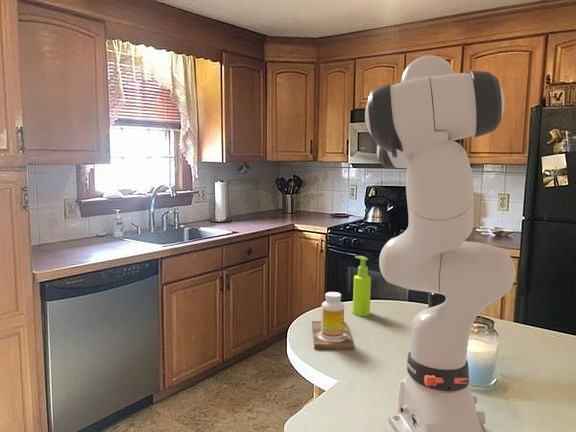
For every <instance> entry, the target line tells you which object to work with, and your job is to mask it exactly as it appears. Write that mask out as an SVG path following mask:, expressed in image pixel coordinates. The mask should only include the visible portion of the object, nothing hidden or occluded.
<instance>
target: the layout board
mask: <svg viewBox="0 0 576 432" xmlns="http://www.w3.org/2000/svg"><path fill="white" fill-rule="evenodd" d="M311 327H312V329H311V330H312V338H313V339H312V340H313V346H314V347H313V348H314V350H344V351H345V350H349V351H350V350H351V351H352V350H354V342H353V339H352V336H351V334H350V330H349V327H348V324H347V321H344V332H343V337H342V338H340V339H327V338H324V337H323V336H322V335H321V321H320V320H311Z"/></svg>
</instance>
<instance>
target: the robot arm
mask: <svg viewBox="0 0 576 432" xmlns="http://www.w3.org/2000/svg"><path fill="white" fill-rule="evenodd" d="M505 103H506V101H505V94H504V91H503V88H502V86H501V84H500V81H499V79H498V77H496V75H494V74H492V73H491V72H489V71H482V70H469V71H466V72H461V73H460V72H458V73H455V71H454V68H453V66H452V65H451V63H450V62H449V61H447V60H446V59H445V58H443V57H441V56H438V55H433V54H430V55H422V56H420V57H417V58H416V59H414V60H413V61H411V62H410V63H409V64H408V65H407V66H406V68H405V69H404V70H403V73H402V76H401V80H400V82H397V83H394V84H390V83H387V84H384V85H382V86H379V87H377V88H375V89H373V90H371V92H370V94H369V95H368V98H367V103H366V106H365V111H364V122H365V125H366V128H367V130H368V133H369V134H370V136H371V139H372V140H373V142H374V143H375V144H376V156H377V159H378V162H379V163H380V164H381V166H383V167H384V168H385V169H386V170H387V169H406V176H405V177H406V178H405V179H406V180H405V195H406V203H407V204H406V205H407V212H408V213H407V214H408V216H407V217H408V222H407V223H408V225H407V228H406V229H405V230H404V232H402V233H401V234H399V235H397V236H395V237H391V238H390V239H389V240H388V241H387V242H386V243H385V244H384V246H383V247H382V249H381V251H380V253H379V259H378V262H379V264H378V266H379V270H380V273H381V275H382V276H383V278H384V280H385V281H386V282H387V283H389V284H391V285H395V286H397V287H401V288H403V289H406V290H411V291H416V292H426V293H430V292H431V293H438V294H442V295H444V296H445V297H446V300H445V302H443V303H442V304H440V305H437V306H434V307H431V308H428V307H427V308H426V309H423V310H421V311H419V312H418V313H417V314H416V315H415V316H414V318H413V319H412V322H411V337H410V351H409V352H408V353H407V354H408V355H407V359H406V364H407V366H406V370H407V372H406V375H405V376H404V377H403V378H402V379H401V380H400V381H399V383H398V391H397V392H398V393H397V402H396V410H394V411H392V412H390V413H389V415H388V421H389V423H390V424H391V426H392V427H393V428H394V429H395V431H396V432H484V429H483V426H482V425H485V424H486V414H485V412H484V411H477V407H476V404H477V403H478V397H477V396H475V395H473V392H472V388H471V382H470V368H469V363H468V362H469V361H468V359H467V356H468V354H467V353H468V347H469V341H470V340H469V339H470V335H471V330H472V326H473V324H474V321H476V320H475V319H476V318H477V316H478V315H479V314H480V313H481V312H482V311H483V310H484V309H486V307H487V306H489V305H490V304H492V303H493V302H494V301H495V302H496V301H497V300H499V299H501V298H502V297H504V296H505V295H506V294H507V293H508V292H510V290H511V288H512V287H513V285H514V283H515V278H516V268H515V263H514V261H513V259H512V256H511V255H510V254H509V253H508V251H507V250H505V249H504V248H501V247H497V246H494V245H490V244H486V243H484V242H477V241H466V240H467V239H468V238H469V236H470V235H471V233H472V231H473V229H474V226H475V225H474V224H475V223H474V221H475V220H474V219H475V218H474V216H475V213H474V212H475V210H474V207H475V204H474V203H475V190H474V180H473V179H474V178H473V170H472V166H471V162H470V159H469V157H468V154H467V151H466V149H465V148H464V147H463V146H462V145H461V144H460V143H459V142H457V140H462V139H465V138H466V139H467V138H470V137H475V138H479V137H482V136H485V135H487V134H490V133H493V132H495V131H496V130H497V128H498V127H499V126H500V124H501V122H502V117H503V114H504V111H505V106H506V104H505Z"/></svg>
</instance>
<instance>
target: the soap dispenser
mask: <svg viewBox="0 0 576 432" xmlns="http://www.w3.org/2000/svg"><path fill="white" fill-rule="evenodd" d="M354 258H355V259H359V260H360V265H358V266H357V275H354V276H353V290H352V293H353V294H352V295H353V296H352V314H353V315H355V316H359V317H367V316H369V315H370V313H371V309H370V308H371V292H372V291H371V287H372V276H370V275H368V274H369V273H368V272H369V271H368V270H369V268H368V266H367V265H366V261H369V258H367V257H366V256H363V255H355V256H354Z"/></svg>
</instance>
